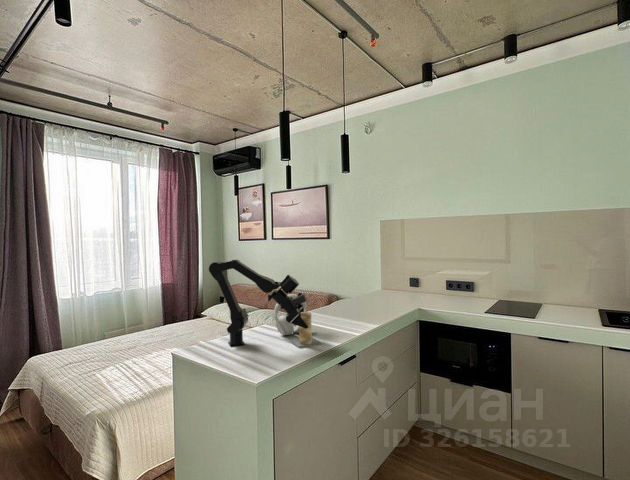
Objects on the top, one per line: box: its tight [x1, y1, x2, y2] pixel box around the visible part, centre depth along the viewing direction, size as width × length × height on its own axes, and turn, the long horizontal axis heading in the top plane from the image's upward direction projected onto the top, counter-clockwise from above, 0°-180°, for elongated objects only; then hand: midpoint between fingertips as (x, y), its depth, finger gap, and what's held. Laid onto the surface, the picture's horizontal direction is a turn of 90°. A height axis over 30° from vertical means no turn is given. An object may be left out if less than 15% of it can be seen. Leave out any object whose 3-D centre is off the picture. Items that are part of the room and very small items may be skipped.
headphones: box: [273, 293, 308, 336], centre depth 163 cm, size 18×10×20 cm, turn 126°
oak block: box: [298, 311, 313, 344], centre depth 146 cm, size 5×5×13 cm
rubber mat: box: [289, 336, 322, 349], centre depth 148 cm, size 11×11×1 cm
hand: (308, 325), depth 146 cm, fingers open, 9 cm apart
